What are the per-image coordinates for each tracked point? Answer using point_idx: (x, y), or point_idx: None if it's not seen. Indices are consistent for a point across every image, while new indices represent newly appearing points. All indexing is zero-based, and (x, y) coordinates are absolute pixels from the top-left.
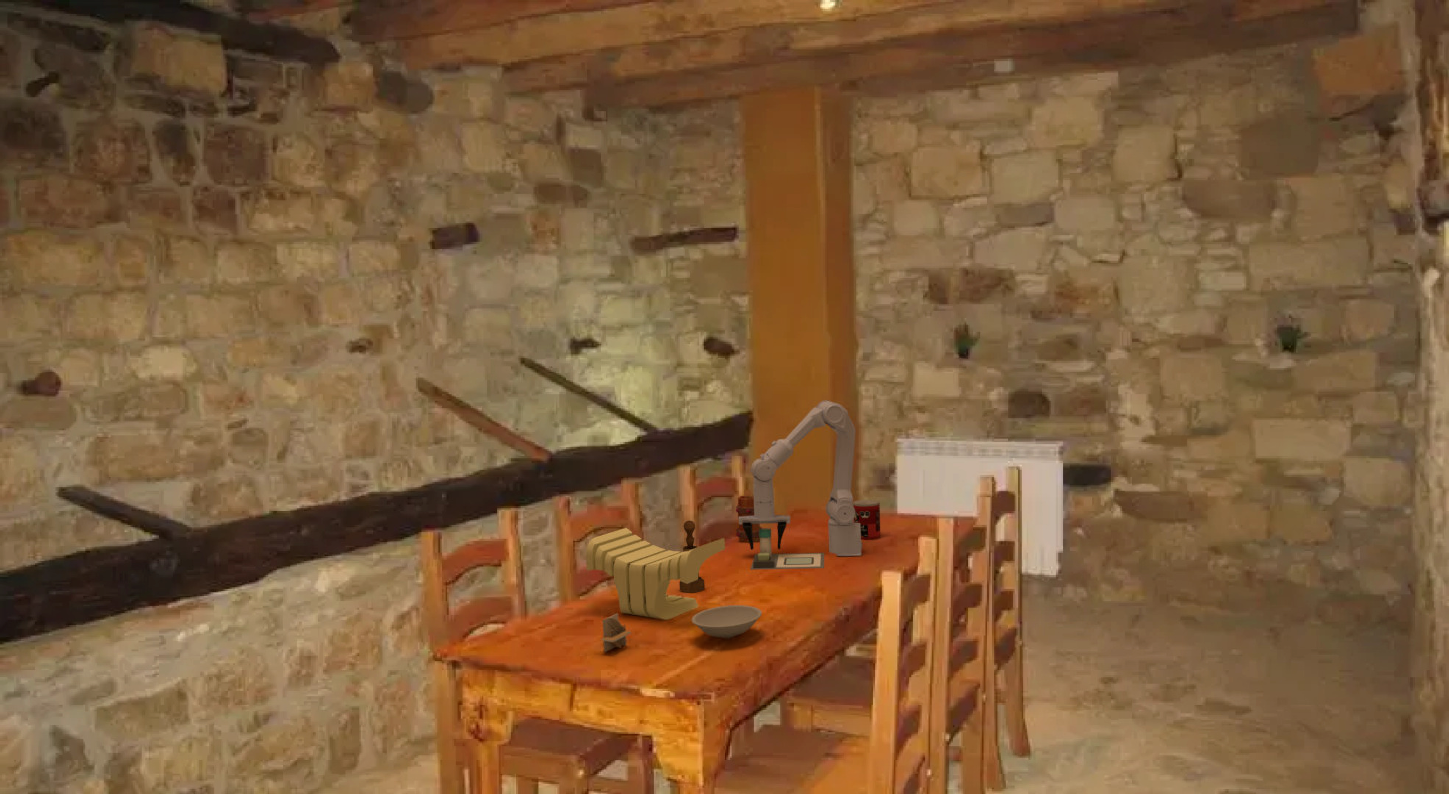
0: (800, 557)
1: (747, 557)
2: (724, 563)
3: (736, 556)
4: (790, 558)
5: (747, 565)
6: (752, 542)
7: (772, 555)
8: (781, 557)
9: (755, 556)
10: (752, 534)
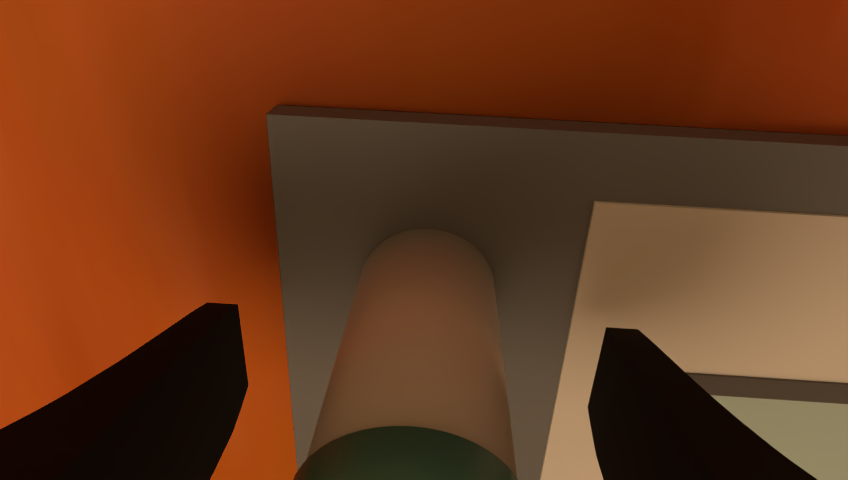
0: (821, 386)
1: (184, 106)
2: (8, 336)
3: (17, 25)
4: None
5: (256, 429)
6: (205, 462)
7: (509, 219)
8: None
9: (294, 236)
10: (112, 423)
